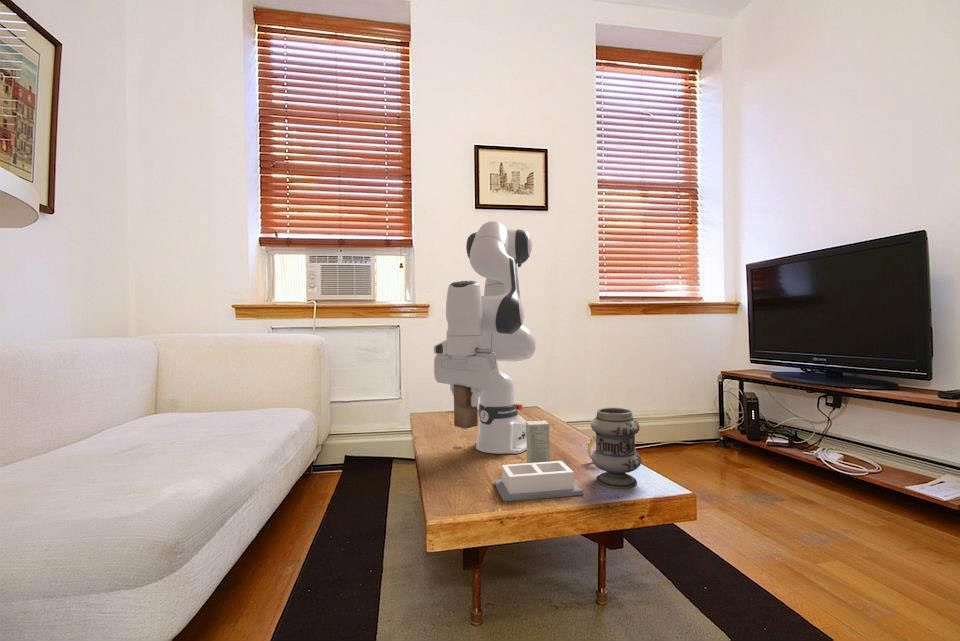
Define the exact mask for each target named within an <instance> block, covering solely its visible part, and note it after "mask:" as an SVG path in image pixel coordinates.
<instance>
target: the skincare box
mask: <svg viewBox="0 0 960 641" xmlns="http://www.w3.org/2000/svg"><path fill="white" fill-rule="evenodd" d="M550 439H551V438H550V423H549V422H548V421H547V420H526V443H527V450H526V463H538V462H551V446H550Z"/></svg>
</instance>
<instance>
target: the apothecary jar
mask: <svg viewBox="0 0 960 641" xmlns="http://www.w3.org/2000/svg"><path fill="white" fill-rule="evenodd" d="M590 428H591V429H592V431H593V432H594V433H595V434H596V442H595V450H593V452H592V453H591V458H592V459H591V458H590V459H591V461H592V463H593V464H594V466H595V467H597V468H598V469H599V470H602V471H603V472H602V473H600V474H599V475H598V474H597V476H596V477H595V479H596V480H595V481H596V482H597V483H598V484H600V485H601V486H604V487H608V488H611V489H612V488H613V489H629V488H633V487H635V486H637V484H638V481H637V479H636V478H635V477H634V476H633V475H631V474H629V473H631V472H634V471H636V470H637V469H638V468H639V467H640V466H641V464H642V457H641V456H640V454H639V452H637V450H636V441H635V440H636V439H635V438H636V436H635V435H636V434H638V433H639V431H640V429H641V428H640V424H639V422H638V420H637V419H635V418H634V416H633V412H632V409H628V408H625V407H602V408H599V409H597V410H596V416H595V417H594V418H593V419H592V420H591V421H590Z"/></svg>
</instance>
